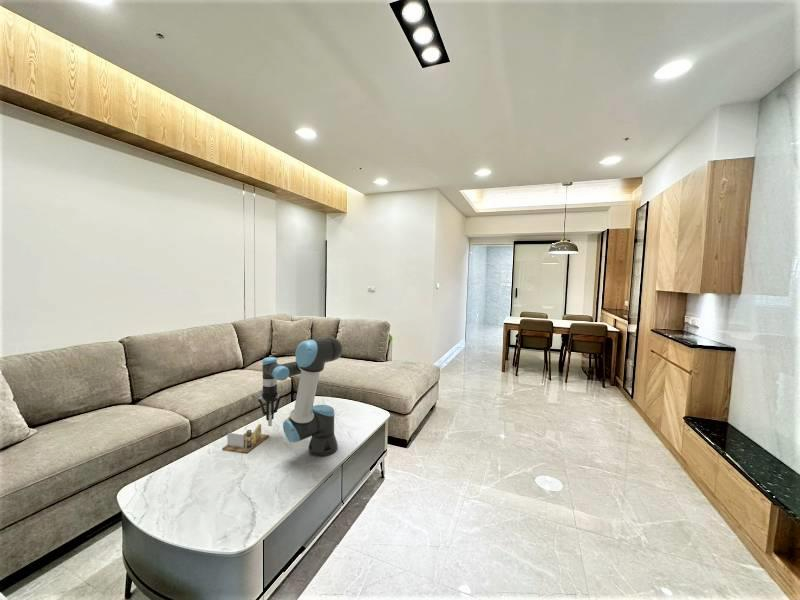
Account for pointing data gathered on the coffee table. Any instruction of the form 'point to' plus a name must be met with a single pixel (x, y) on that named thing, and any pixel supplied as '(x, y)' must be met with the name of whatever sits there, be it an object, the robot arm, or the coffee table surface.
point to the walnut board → (246, 450)
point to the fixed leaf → (238, 440)
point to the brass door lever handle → (255, 435)
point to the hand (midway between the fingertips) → (269, 425)
